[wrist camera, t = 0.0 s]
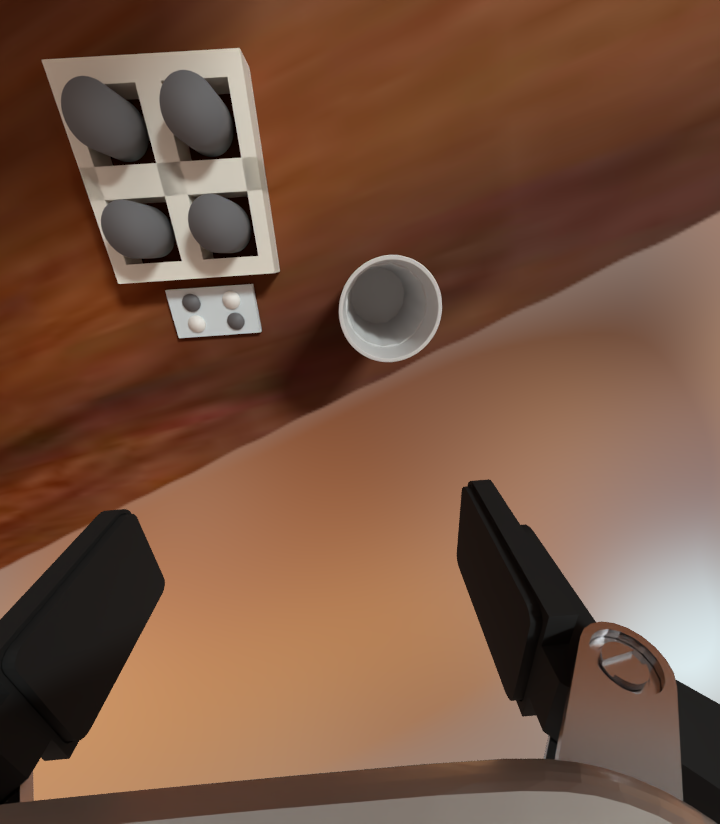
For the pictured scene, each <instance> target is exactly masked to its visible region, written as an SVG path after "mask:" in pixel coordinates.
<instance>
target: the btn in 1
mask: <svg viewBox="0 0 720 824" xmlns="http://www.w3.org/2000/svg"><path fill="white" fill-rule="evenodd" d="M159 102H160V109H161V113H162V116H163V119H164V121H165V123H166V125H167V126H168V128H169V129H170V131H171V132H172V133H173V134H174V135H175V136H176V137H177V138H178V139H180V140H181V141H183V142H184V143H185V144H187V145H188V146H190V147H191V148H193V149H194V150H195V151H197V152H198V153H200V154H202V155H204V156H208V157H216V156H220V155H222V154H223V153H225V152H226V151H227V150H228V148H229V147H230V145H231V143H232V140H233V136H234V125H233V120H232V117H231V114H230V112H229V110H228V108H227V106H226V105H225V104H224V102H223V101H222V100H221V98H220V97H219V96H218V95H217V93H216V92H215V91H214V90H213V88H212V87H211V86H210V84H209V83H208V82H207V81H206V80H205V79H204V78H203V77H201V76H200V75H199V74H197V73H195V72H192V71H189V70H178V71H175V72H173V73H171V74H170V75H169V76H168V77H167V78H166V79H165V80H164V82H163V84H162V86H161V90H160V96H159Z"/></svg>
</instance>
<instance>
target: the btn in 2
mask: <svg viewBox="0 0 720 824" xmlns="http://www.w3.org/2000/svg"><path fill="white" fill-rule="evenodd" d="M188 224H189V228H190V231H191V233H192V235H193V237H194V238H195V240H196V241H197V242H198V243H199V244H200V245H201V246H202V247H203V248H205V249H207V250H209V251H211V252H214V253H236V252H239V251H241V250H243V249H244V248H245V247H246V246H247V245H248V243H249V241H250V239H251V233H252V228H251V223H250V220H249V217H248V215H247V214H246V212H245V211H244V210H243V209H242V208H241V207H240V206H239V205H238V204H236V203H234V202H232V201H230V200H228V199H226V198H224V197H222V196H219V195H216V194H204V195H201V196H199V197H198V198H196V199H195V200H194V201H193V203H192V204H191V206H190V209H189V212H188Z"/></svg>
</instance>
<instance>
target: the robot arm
mask: <svg viewBox="0 0 720 824" xmlns="http://www.w3.org/2000/svg"><path fill="white" fill-rule="evenodd" d="M457 561H458V566H459V568H460V571H461V574H462V577H463V579H464V582H465V585H466V587H467V590H468V593H469V595H470V598H471V601H472V603H473V606H474V609H475V612H476V614H477V617H478V620H479V622H480V625H481V628H482V630H483V633H484V636H485V639H486V641H487V644H488V647H489V649H490V652H491V655H492V657H493V660H494V663H495V665H496V668H497V671H498V674H499V676H500V679H501V682H502V684H503V687H504V690H505V692H506V694H507V696H508V698H509V699H510V700H511V701H514V700H516V701H517V704H518V706H519V709H520V712H521V714H522V716H533V715H537V718H538V720H539V722H540V725H541V727H542V730H543V731H544V732H545V733H546V734H548V740H547V745H546V750H545V754H544V759H495V760H480V761H466V762H451V763H434V764H420V765H409V766H398V767H387V768H375V769H364V770H353V771H342V772H330V773H319V774H308V775H297V776H286V777H275V778H265V779H254V780H243V781H234V782H223V783H212V784H201V785H190V786H180V787H170V788H159V789H149V790H139V791H129V792H119V793H108V794H99V795H89V796H79V797H69V798H59V799H49V800H39V801H34V800H33V769H34V768H35V766H36V764H37V763H38V761H39V759H40V758H42V759H43V760H44V761H48V760H58V759H69V758H70V757H71V755H72V753H73V751H74V749H75V747H76V745H77V744H78V742H79V740H81V739H82V738H84V737H85V736H86V735H87V733H88V732H89V730H90V729H91V727H92V725H93V723H94V721H95V719H96V718H97V716H98V713H99V712H100V710H101V708H102V706H103V704H104V702H105V701H106V699H107V697H108V695H109V693H110V691H111V689H112V687H113V685H114V683H115V682H116V680H117V678H118V676H119V674H120V672H121V670H122V668H123V667H124V665H125V663H126V661H127V659H128V657H129V655H130V653H131V651H132V649H133V648H134V646H135V644H136V642H137V640H138V638H139V636H140V634H141V633H142V631H143V629H144V627H145V625H146V623H147V621H148V619H149V617H150V616H151V614H152V612H153V610H154V608H155V606H156V604H157V602H158V600H159V598H160V597H161V595H162V593H163V590H164V586H165V580H164V577H163V575H162V573H161V570H160V568H159V566H158V564H157V562H156V559H155V557H154V555H153V552H152V550H151V548H150V546H149V543H148V541H147V539H146V537H145V534H144V532H143V530H142V528H141V526H140V523H139V521H138V519H137V517H136V516H135V515H134V514H131V512H130V511H129V510H126V509H122V510H110V511H103V512H101V513H100V514H99V515H98V516H97V517H96V518H95V519H94V520H93V521H92V522H91V523H90V524H89V525H88V526H87V527H86V529H85V530H84V531H83V532H82V533H81V534H80V535H79V536H78V537H77V538H76V539H75V540H74V541H73V542H72V544H71V545H70V546H69V547H68V548H67V549H66V550H65V551H64V552H63V553H62V554H61V555H60V557H58V559H57V560H56V561H55V562H54V563H53V564H52V565H51V566H50V567H49V568H48V570H46V571H45V572H44V574H43V575H42V576H41V577H40V578H39V579H38V580H37V581H36V582H35V583H34V584H33V585H32V587H31V588H30V589H29V590H28V591H27V592H26V593H25V594H24V595H23V596H22V597H21V598H20V599H19V600H18V601H17V602H16V604H15V605H14V606H13V607H12V608H11V609H10V610H9V611H8V612H7V613H6V614H5V615H4V616H3V618H1V620H0V824H720V704H718V703H717V702H715V701H713V700H711V699H709V698H708V697H706V696H704V695H702V694H700V693H699V692H697V691H695V690H693V689H691V688H690V687H688V686H686V685H684V684H683V683H681V682H679V681H677V680H675V676H674V673H673V671H672V669H671V668H670V666H669V664H668V662H667V661H666V659H665V658H664V657H663V656H662V655H661V653H660V652H659V651H658V650H657V649H656V648H655V647H654V646H653V645H652V644H651V643H649V642H648V641H647V640H646V639H645V638H643V637H642V636H640V635H639V634H637V633H635V632H634V631H632V630H630V629H628V628H626V627H623V626H620V625H617V624H615V623H609V622H597V623H596V622H595V620H594V619H593V617H592V616H591V614H590V613H589V611H588V610H587V609H586V607H585V606H584V604H583V603H582V601H581V600H580V598H579V597H578V595H577V594H576V593H575V591H574V590H573V588H572V587H571V585H570V584H569V582H568V581H567V580H566V578H565V577H564V575H563V574H562V572H561V571H560V569H559V568H558V566H557V565H556V563H555V562H554V561H553V559H552V558H551V556H550V555H549V553H548V552H547V551H546V549H545V547H544V546H543V545H542V543H541V542H540V540H539V539H538V537H537V536H536V534H535V533H534V532H533V530H532V529H531V528H530V527H529V526H527V525H520V524H519V522H518V521H517V519H516V518H515V516H514V515H513V513H512V512H511V510H510V509H509V507H508V506H507V504H506V502H505V501H504V499H503V498H502V496H501V495H500V493H499V492H498V490H497V489H496V487H495V486H494V484H493V483H492V481H491V480H478V481H470V482H469V483H468V486H467V487H463V488H462V495H461V507H460V520H459V532H458V545H457Z"/></svg>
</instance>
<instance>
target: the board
mask: <svg viewBox="0 0 720 824" xmlns="http://www.w3.org/2000/svg"><path fill="white" fill-rule="evenodd" d="M42 63H43V66H44V69H45V72H46V75H47V78H48V80H49V83H50V86H51V89H52V92H53V95H54V98H55V101H56V104H57V107H58V110H59V112H60V115H61V118H62V121H63V124H64V127H65V130H66V133H67V136H68V139H69V142H70V144H71V147H72V150H73V153H74V156H75V159H76V162H77V165H78V168H79V171H80V174H81V176H82V179H83V182H84V185H85V188H86V191H87V194H88V197H89V200H90V203H91V206H92V209H93V211H94V214H95V217H96V220H97V223H98V226H99V229H100V232H101V235H102V238H103V241H104V243H105V246H106V249H107V252H108V255H109V258H110V261H111V264H112V267H113V270H114V273H115V275H116V278H117V281H118V284H125V283H139V282H154V281H168V280H183V279H197V278H211V277H226V276H240V275H255V274H269V273H277V272H280V268H279V261H278V254H277V248H276V241H275V234H274V228H273V221H272V215H271V208H270V201H269V195H268V188H267V181H266V175H265V168H264V161H263V155H262V148H261V141H260V135H259V128H258V121H257V115H256V108H255V102H254V95H253V88H252V82H251V75H250V68H249V66H248V64H247V62H246V60H245V58H244V56H243V54H242V52H241V50H240V48H231V49H214V50H197V51H180V52H163V53H146V54H129V55H111V56H94V57H77V58H60V59H43V60H42ZM178 70H189V71H192V72H195V73H197V74H199V75H200V76H201V77H203V78H204V79H205V80H206V81H207V82H208V83H209V84H210V86H211V87H212V88H213V90H214V91H215V92H216V93H217V94H230V95H231V100H232V106H233V112H234V118H235V124H236V129H237V135H238V141H239V147H240V153H241V158H228V159H212V160H196V161H192V159H191V154H190V150H189V146H188V145H187V144H185V143H184V142H183V141H181V140H180V139H178V138H177V137H176V136H175V135H174V134H173V133H172V132H171V131H170V129H169V128H168V126H167V125H166V123H165V121H164V119H163V116H162V113H161V109H160V102H159V96H160V90H161V86H162V84H163V82H164V80H165V79H166V78H167V77H168V76H169V75H170V74H171V73H173V72H175V71H178ZM77 76H88V77H92V78H95V79H97V80H99V81H100V82H102V83H103V84H105V85H106V86H107V87H109V88H110V89H112V90H113V91H114V92H116V93H117V94H119V95H120V96H121V97H123V98H124V99H126V100H132V99H140V103H141V107H142V111H143V115H144V119H145V122H146V126H147V130H148V134H149V138H150V142H151V145H152V149H153V153H154V157H155V161H156V163H149V164H134V165H118V166H113V164H112V161H111V158H110V156H108V155H106V154H103V153H101V152H98V151H96V150H94V149H91V148H89V147H87V146H86V145H84V144H83V143H81V142H80V141H79V140H78V139H77V138H76V137H75V136H74V135H73V133H72V132H71V131H70V129H69V127H68V126H67V124H66V122H65V119H64V117H63V113H62V108H61V95H62V91H63V88H64V86H65V85H66V83H67V82H68V81H69V80H70V79H72V78H74V77H77ZM204 194H216V195H219V196H222V197H224V198H235V197H248V199H249V205H250V211H251V216H252V222H253V228H254V234H255V240H256V245H257V251H258V256H249V257H234V258H219V259H214V257H213V252H211V251H209V250H207V249H205V248H203V247H202V246H201V245H200V244H199V243H198V242H197V241H196V240H195V238H194V237H193V235H192V233H191V231H190V228H189V224H188V212H189V209H190V206H191V204H192V203H193V201H194V200H195V199H196V198H198V197H199V196H201V195H204ZM115 200H129V201H133V202H137V203H141V204H143V203H158V202H166V203H167V207H168V210H169V214H170V218H171V222H172V226H173V229H174V233H175V237H176V241H177V245H178V249H179V252H180V256H181V260H182V261H176V262H161V263H146V264H143V262H142V259H133V258H129V257H126V256H123V255H122V254H120V253H118V252H117V251H116V250H115V249H114V248H113V247H112V246H111V245H110V244H109V243H108V241H107V240H106V238H105V236H104V234H103V231H102V227H101V216H102V212H103V210H104V208H105V207H106V206H107V205H108V204H109V203H110V202H112V201H115Z"/></svg>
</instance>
